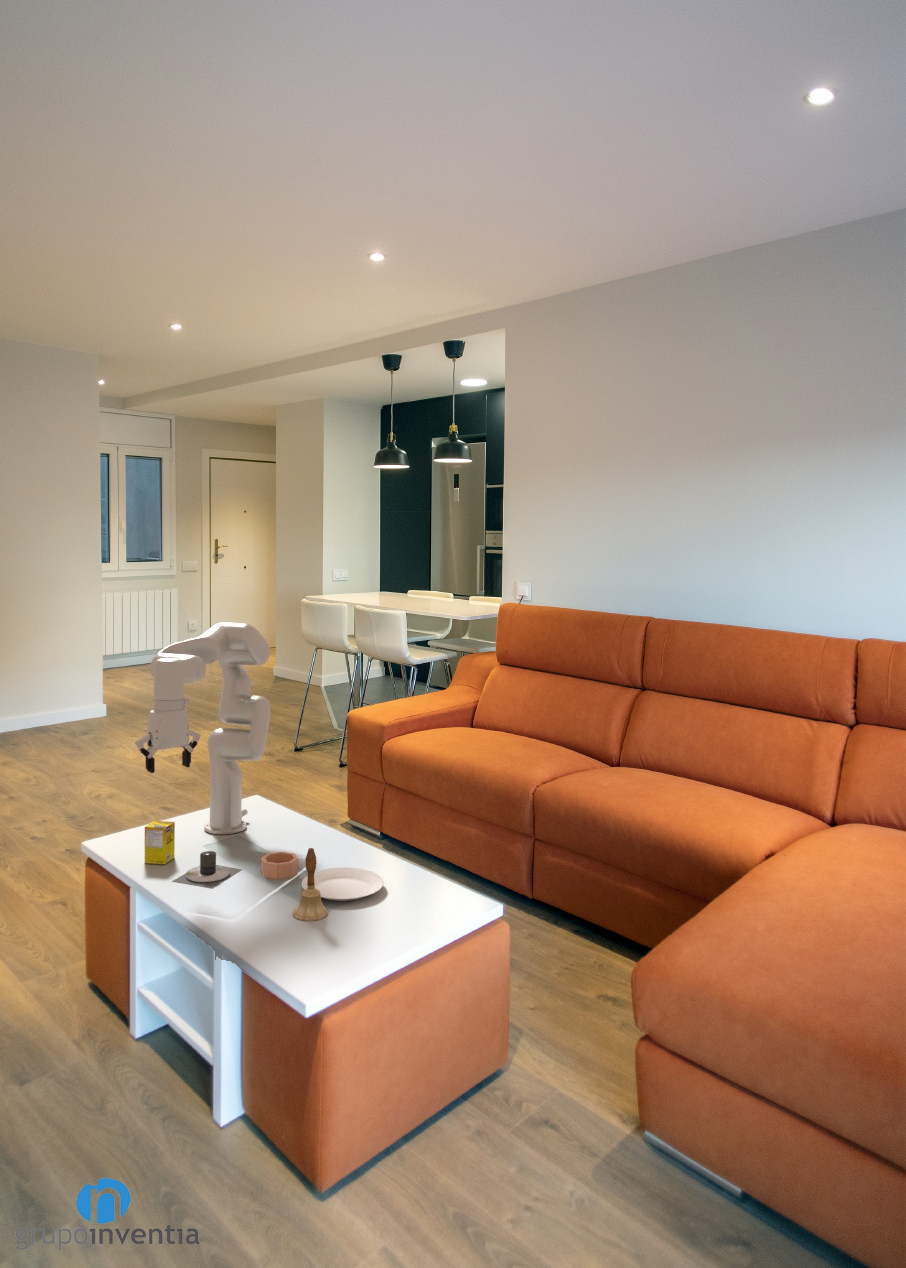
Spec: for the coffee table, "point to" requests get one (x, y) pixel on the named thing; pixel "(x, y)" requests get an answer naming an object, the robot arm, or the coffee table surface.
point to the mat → (208, 885)
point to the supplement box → (159, 842)
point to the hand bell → (310, 895)
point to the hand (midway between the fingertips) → (168, 769)
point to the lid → (207, 870)
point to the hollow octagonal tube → (279, 865)
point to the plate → (345, 883)
